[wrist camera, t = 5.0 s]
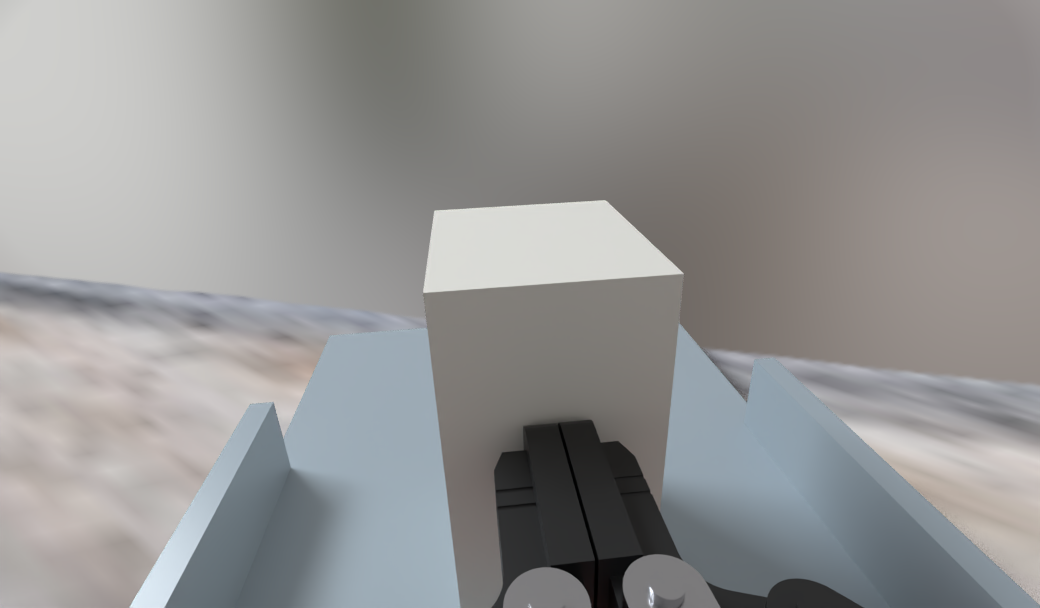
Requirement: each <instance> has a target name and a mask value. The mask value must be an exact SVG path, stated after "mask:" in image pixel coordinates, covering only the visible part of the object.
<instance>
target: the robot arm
mask: <svg viewBox="0 0 1040 608" xmlns="http://www.w3.org/2000/svg"><path fill="white" fill-rule="evenodd" d="M523 443H524V450H521V451H511V452H502V454H501V456H500V458H499V460H498V462H497V465H496V467H495V469H494V480H495V495H496V510H497V525H498V536H499V547H500V558H501V569H502V581H503V586H502V590H501V592H500V595H499V597H498V599H497V601H496V602H495V604H494V605H493V606H492V608H864V607H862V606H860V605H859V604H857V603H855V602H853V601H852V600H850V599H848V598H847V597H845V596H843V595H841V594H840V593H838V592H836V591H835V590H833V589H831V588H829V587H827V586H825V585H823V584H820V583H818V582H815V581H811V580H807V579H800V578H794V579H786V580H783V581H781V582H778V583H777V584H776V585H774V586H773V587H772V588H771V590H770V592H769V594H768V596H767V597H763V596H758V595H752V594H747V593H741V592H736V591H731V590H727V589H723V588H720V587H717V586H715V585H712V584H710V583H708V582H706V581H705V580H704V578H703V577H702V576H701V575H700V573H699V572H698V571H697V570H696V569H694V568H693V567H692V566H691V565H689V564H688V563H686V562H685V561H683V560H682V558H681V557H680V555H679V553H678V551H677V548H676V546H675V544H674V542H673V540H672V537H671V535H670V533H669V531H668V528H667V526H666V524H665V522H664V520H663V517H662V515H661V513H660V511H659V508H658V506H657V504H656V502H655V500H654V497H653V495H652V494H651V493H650V488H649V486H648V484H647V482H646V479H644V477H643V473H642V471H641V468H640V466H639V464H638V462H637V459H636V457H635V456H634V455H633V454H632V453H631V452H630V451H629V450H628V449H627V448H626V447H624V446H623V445H622V444H621V443H620V442H619V441H612V442H602V443H601V442H600V439H599V436H598V434H597V431H596V428H595V426H594V423H593V421H592V420H581V421H570V422H559V423H558V425H557V423H550V424H540V425H529V426H523Z"/></svg>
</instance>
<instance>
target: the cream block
mask: <svg viewBox="0 0 1040 608" xmlns="http://www.w3.org/2000/svg"><path fill="white" fill-rule="evenodd" d="M683 276H684V274H683V273H682V272H681V271H680V270H679V269H678V268H677V267H676V266H675V265H674V264H673V263H672V262H671V261H670V260H669V259H667V258H666V257H665V256H664V255H663V254H662V253H661V252H660V251H659V250H658V249H657V248H656V247H655V246H654V245H653V244H652V243H650V242H649V241H648V240H647V239H646V238H645V237H644V236H643V235H642V234H641V233H640V232H639V231H638V230H637V229H636V228H634V227H633V226H632V225H631V224H630V223H629V222H628V221H627V220H626V219H625V218H624V217H623V216H622V215H621V214H619V213H618V212H617V211H616V210H615V209H614V208H613V207H612V206H611V205H610V204H609V203H608V202H607V201H606V200H603V201H586V202H570V203H554V204H538V205H520V206H504V207H488V208H471V209H455V210H438V211H434V218H433V225H432V232H431V239H430V247H429V254H428V261H427V268H426V276H425V283H424V290H423V296H424V304H425V312H426V322H427V330H428V338H429V347H430V355H431V364H432V372H433V381H434V389H435V397H436V406H437V414H438V423H439V431H440V440H441V448H442V456H443V465H444V473H445V482H446V490H447V499H448V507H449V515H450V524H451V532H452V541H453V549H454V558H455V566H456V575H457V583H458V591H459V600H460V608H492V606H493V605H494V604H495V602H496V601H497V599H498V597H499V595H500V592H501V590H502V586H503V581H502V569H501V558H500V547H499V536H498V525H497V510H496V495H495V480H494V469H495V467H496V465H497V462H498V460H499V458H500V456H501V454H502V452H511V451H521V450H524V443H523V426H529V425H540V424H550V423H557V425H558V423H559V422H570V421H581V420H592V421H593V423H594V426H595V428H596V431H597V434H598V436H599V439H600V442H601V443H602V442H612V441H619V442H620V443H621V444H622V445H623V446H624V447H626V448H627V449H628V450H629V451H630V452H631V453H632V454H633V455H634V456H635V457H636V459H637V462H638V464H639V466H640V468H641V471H642V473H643V477H644V479H646V482H647V484H648V486H649V488H650V493H651V494H652V495H653V497H654V500H655V502H656V504H657V506H658V508H659V511H660V507H661V497H662V487H663V477H664V467H665V457H666V447H667V437H668V427H669V417H670V407H671V397H672V387H673V377H674V367H675V357H676V347H677V337H678V327H679V316H680V306H681V296H682V286H683Z"/></svg>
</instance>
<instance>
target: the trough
mask: <svg viewBox="0 0 1040 608" xmlns="http://www.w3.org/2000/svg"><path fill="white" fill-rule="evenodd" d="M660 513H661V515H662V517H663V520H664V522H665V524H666V526H667V528H668V531H669V533H670V535H671V537H672V540H673V542H674V544H675V546H676V548H677V551H678V553H679V555H680V557H681V558H682V560H683V561H685V562H686V563H688V564H689V565H691V566H692V567H693V568H694V569H696V570H697V571H698V572H699V573H700V575H701V576H702V577H703V578H704V580H705V581H706V582H708V583H710V584H712V585H715V586H717V587H720V588H723V589H727V590H731V591H736V592H741V593H747V594H752V595H758V596H763V597H767V596H768V594H769V592H770V590H771V588H772V587H773V586H774V585H776V584H777V583H778V582H781V581H783V580H786V579H794V578H800V579H807V580H811V581H815V582H818V583H820V584H823V585H825V586H827V587H829V588H831V589H833V590H835V591H836V592H838V593H840V594H841V595H843V596H845V597H847V598H848V599H850V600H852V601H853V602H855V603H857V604H859V605H860V606H862V607H864V608H1040V605H1039V604H1038V603H1037V602H1036V601H1034V600H1033V599H1032V598H1031V597H1030V596H1029V595H1028V594H1027V593H1026V592H1025V591H1024V590H1023V589H1022V588H1021V587H1019V586H1018V585H1017V584H1016V583H1015V582H1014V581H1013V580H1012V579H1011V578H1010V577H1009V576H1008V575H1007V574H1006V573H1004V572H1003V571H1002V570H1001V569H1000V568H999V567H998V566H997V565H996V564H995V563H994V562H993V561H992V560H991V559H989V558H988V557H987V556H986V555H985V554H984V553H983V552H982V551H981V550H980V549H979V548H978V547H977V546H976V545H974V544H973V543H972V542H971V541H970V540H969V539H968V538H967V537H966V536H965V535H964V534H963V533H962V532H961V531H959V530H958V529H957V528H956V527H955V526H954V525H953V524H952V523H951V522H950V521H949V520H948V519H947V518H946V517H944V516H943V515H942V514H941V513H940V512H939V511H938V510H937V509H936V508H935V507H934V506H933V505H932V504H931V503H929V502H928V501H927V500H926V499H925V498H924V497H923V496H922V495H921V494H920V493H919V492H918V491H917V490H916V489H914V488H913V487H912V486H911V485H910V484H909V483H908V482H907V481H906V480H905V479H904V478H903V477H902V476H901V475H899V474H898V473H897V472H896V471H895V470H894V469H893V468H892V467H891V466H890V465H889V464H888V463H887V462H886V461H884V460H883V459H882V458H881V457H880V456H879V455H878V454H877V453H876V452H875V451H874V450H873V449H872V448H871V447H869V446H868V445H867V444H866V443H865V442H864V441H863V440H862V439H861V438H860V437H859V436H858V435H857V434H856V433H854V432H853V431H852V430H851V429H850V428H849V427H848V426H847V425H846V424H845V423H844V422H843V421H842V420H841V419H839V418H838V417H837V416H836V415H835V414H834V413H833V412H832V411H831V410H830V409H829V408H828V407H827V406H826V405H824V404H823V403H822V402H821V401H820V400H819V399H818V398H817V397H816V396H815V395H814V394H813V393H812V392H811V391H809V390H808V389H807V388H806V387H805V386H804V385H803V384H802V383H801V382H800V381H799V380H798V379H797V378H796V377H794V376H793V375H792V374H791V373H790V372H789V371H788V370H787V369H786V368H785V367H784V366H783V365H782V364H781V363H779V362H778V361H777V360H776V359H775V358H765V359H755V360H754V366H753V371H752V377H751V383H750V389H749V395H748V401H747V402H746V401H745V400H744V399H743V398H742V396H741V395H740V394H739V393H738V392H737V391H736V389H735V388H734V387H733V386H732V385H731V383H730V382H729V381H728V380H727V379H726V378H725V376H724V375H723V374H722V373H721V372H720V371H719V369H718V368H717V367H716V366H715V365H714V363H713V362H712V361H711V360H710V359H709V358H708V356H707V355H706V354H705V353H704V352H703V351H702V349H701V348H700V347H699V346H698V345H697V343H696V342H695V341H694V340H693V339H692V338H691V337H690V335H689V334H688V333H687V332H686V331H685V329H684V328H683V327H682V326H681V325H680V324H679V327H678V337H677V347H676V357H675V367H674V377H673V387H672V397H671V407H670V417H669V427H668V437H667V447H666V457H665V467H664V477H663V487H662V497H661V507H660ZM129 608H460V600H459V591H458V583H457V575H456V566H455V558H454V549H453V541H452V532H451V524H450V515H449V507H448V499H447V490H446V482H445V473H444V465H443V456H442V448H441V440H440V431H439V423H438V414H437V406H436V397H435V389H434V381H433V372H432V364H431V355H430V347H429V338H428V330H427V328H419V329H406V330H394V331H381V332H368V333H356V334H343V335H331V336H330V337H329V339H328V341H327V344H326V346H325V348H324V350H323V352H322V355H321V357H320V359H319V361H318V364H317V366H316V368H315V370H314V372H313V375H312V377H311V379H310V381H309V383H308V386H307V388H306V390H305V392H304V394H303V397H302V399H301V401H300V403H299V405H298V408H297V410H296V412H295V414H294V417H293V419H292V421H291V423H290V425H289V428H288V430H287V432H286V434H285V436H284V439H283V436H282V432H281V428H280V425H279V421H278V417H277V414H276V410H275V406H274V402H269V403H257V404H250V405H249V407H248V409H247V410H246V412H245V414H244V415H243V417H242V419H241V421H240V422H239V424H238V426H237V427H236V429H235V431H234V432H233V434H232V436H231V437H230V439H229V441H228V442H227V444H226V446H225V447H224V449H223V451H222V452H221V454H220V456H219V458H218V459H217V461H216V463H215V464H214V466H213V468H212V469H211V471H210V473H209V474H208V476H207V478H206V479H205V481H204V483H203V484H202V486H201V488H200V489H199V491H198V493H197V495H196V496H195V498H194V500H193V501H192V503H191V505H190V506H189V508H188V510H187V511H186V513H185V515H184V516H183V518H182V520H181V521H180V523H179V525H178V526H177V528H176V530H175V532H174V533H173V535H172V537H171V538H170V540H169V542H168V543H167V545H166V547H165V548H164V550H163V552H162V553H161V555H160V557H159V558H158V560H157V562H156V563H155V565H154V567H153V569H152V570H151V572H150V574H149V575H148V577H147V579H146V580H145V582H144V584H143V585H142V587H141V589H140V590H139V592H138V594H137V595H136V597H135V599H134V600H133V602H132V604H131V606H130V607H129Z"/></svg>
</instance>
